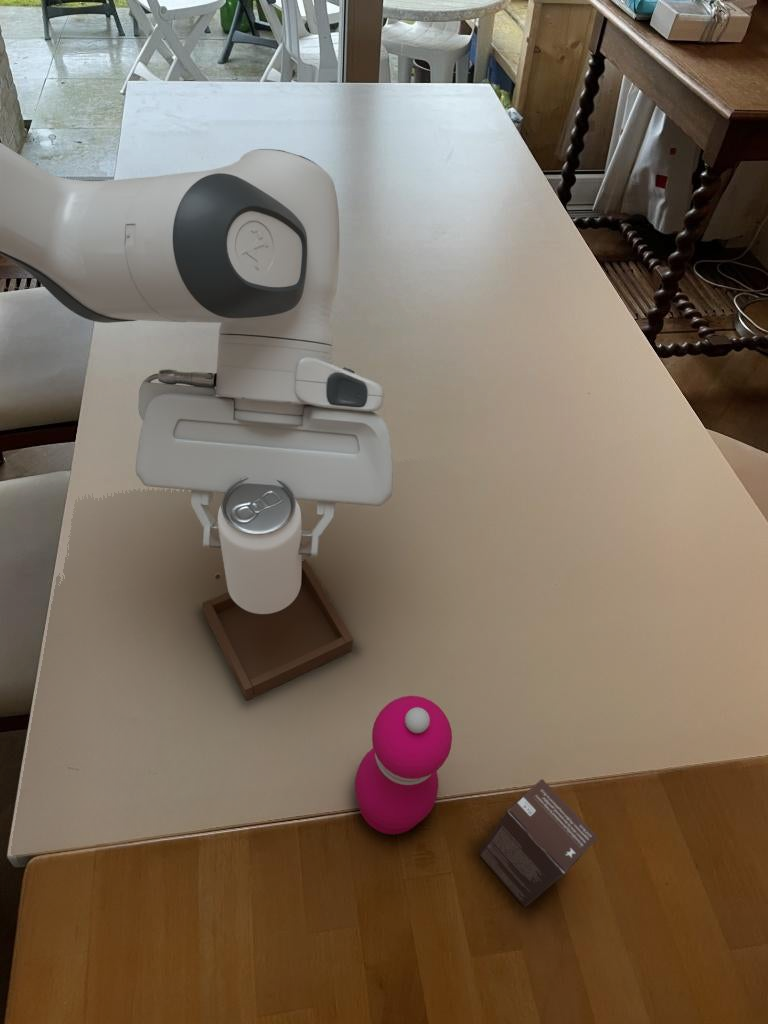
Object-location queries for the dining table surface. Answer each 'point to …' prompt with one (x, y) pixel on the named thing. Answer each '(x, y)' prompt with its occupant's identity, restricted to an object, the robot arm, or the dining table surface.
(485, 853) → the box
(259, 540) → the can
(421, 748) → the pepper mill
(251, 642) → the tray
